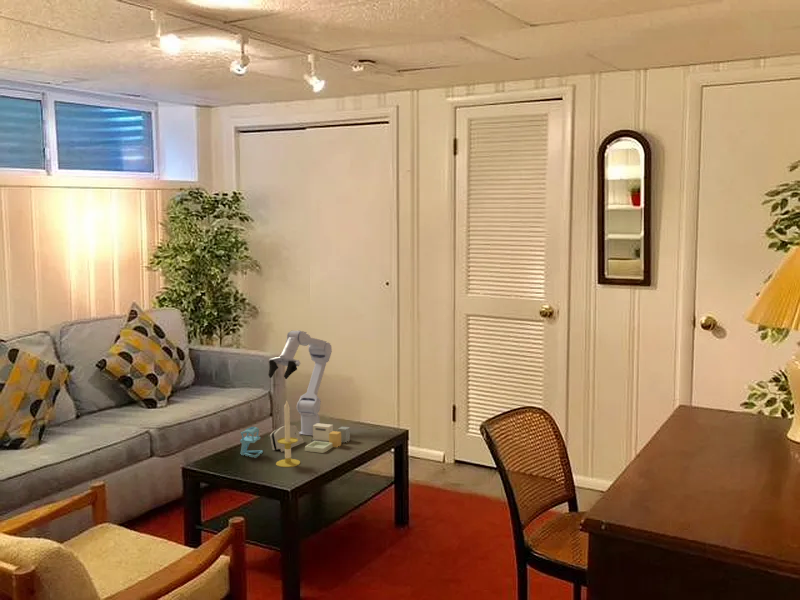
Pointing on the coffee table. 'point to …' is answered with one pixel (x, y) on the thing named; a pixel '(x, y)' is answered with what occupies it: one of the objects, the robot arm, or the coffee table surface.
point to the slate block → (344, 433)
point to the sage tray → (318, 446)
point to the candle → (287, 442)
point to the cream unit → (321, 432)
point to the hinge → (281, 434)
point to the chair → (248, 440)
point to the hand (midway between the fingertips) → (277, 377)
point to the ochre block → (335, 438)
